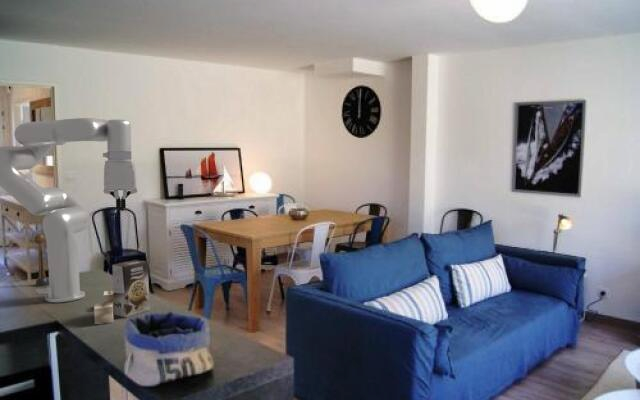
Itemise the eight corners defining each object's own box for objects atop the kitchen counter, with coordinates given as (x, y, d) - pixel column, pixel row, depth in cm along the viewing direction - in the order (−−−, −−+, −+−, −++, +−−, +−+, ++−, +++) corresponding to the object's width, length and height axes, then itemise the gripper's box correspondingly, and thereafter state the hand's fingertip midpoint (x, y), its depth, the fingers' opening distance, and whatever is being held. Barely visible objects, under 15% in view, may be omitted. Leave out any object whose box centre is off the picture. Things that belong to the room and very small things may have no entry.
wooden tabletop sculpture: (35, 287, 199) (32, 235, 197) (30, 285, 202) (27, 234, 200) (51, 284, 203) (48, 233, 201) (46, 282, 206) (43, 232, 204)
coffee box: (126, 318, 160) (124, 266, 159) (113, 314, 164) (111, 264, 162) (150, 310, 168) (148, 261, 167) (137, 307, 172) (135, 259, 170)
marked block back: (104, 310, 169) (103, 294, 169) (105, 306, 174) (104, 290, 173) (120, 308, 171) (120, 293, 170) (120, 304, 176) (120, 289, 175)
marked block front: (94, 325, 155) (94, 308, 154) (95, 320, 159) (95, 303, 159) (113, 323, 156) (112, 306, 156) (113, 318, 161) (112, 301, 160)
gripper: (94, 156, 170) (96, 212, 172) (143, 156, 175) (144, 211, 176) (96, 156, 177) (98, 210, 179) (143, 156, 182) (144, 208, 183)
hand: (121, 210), depth 177 cm, fingers closed
